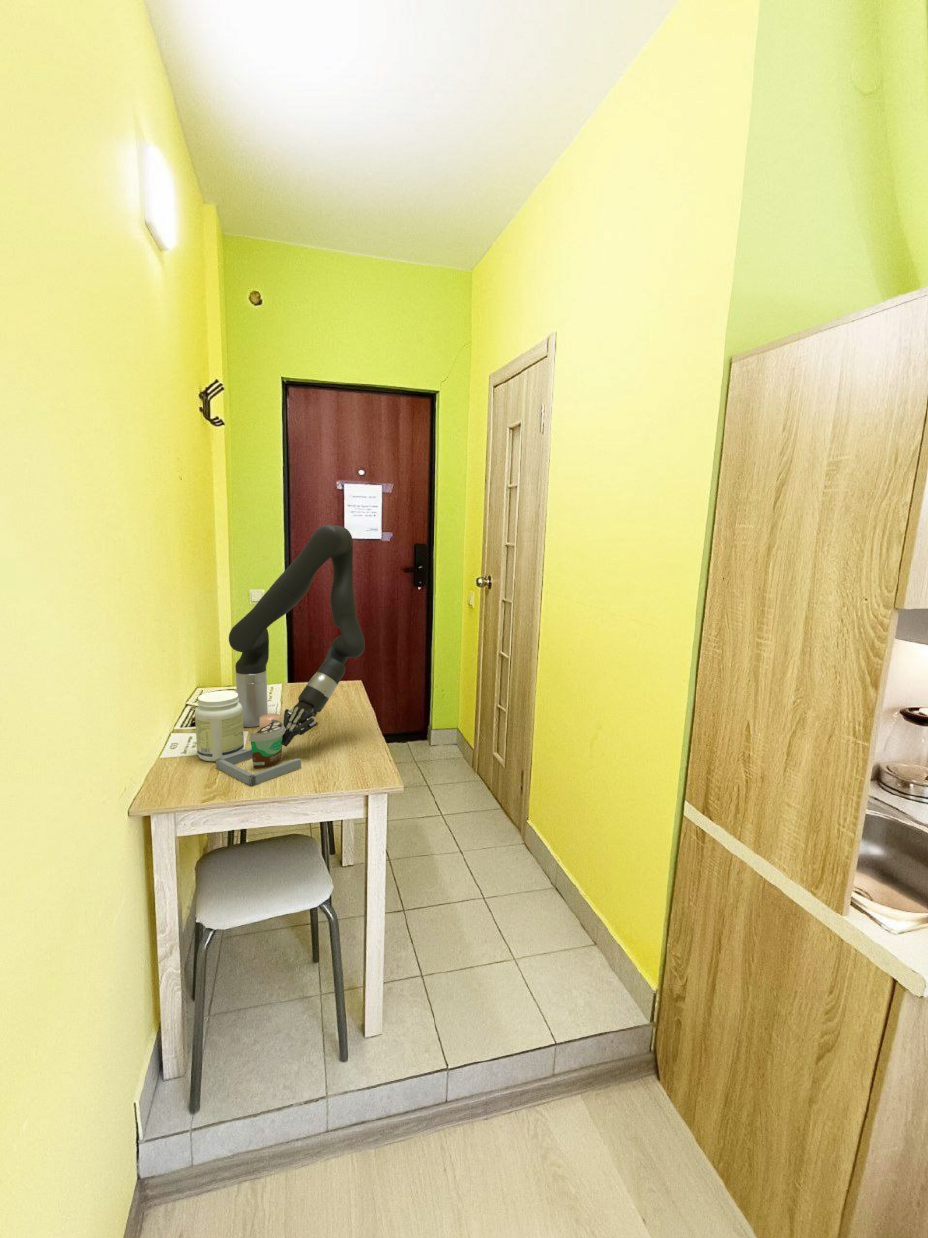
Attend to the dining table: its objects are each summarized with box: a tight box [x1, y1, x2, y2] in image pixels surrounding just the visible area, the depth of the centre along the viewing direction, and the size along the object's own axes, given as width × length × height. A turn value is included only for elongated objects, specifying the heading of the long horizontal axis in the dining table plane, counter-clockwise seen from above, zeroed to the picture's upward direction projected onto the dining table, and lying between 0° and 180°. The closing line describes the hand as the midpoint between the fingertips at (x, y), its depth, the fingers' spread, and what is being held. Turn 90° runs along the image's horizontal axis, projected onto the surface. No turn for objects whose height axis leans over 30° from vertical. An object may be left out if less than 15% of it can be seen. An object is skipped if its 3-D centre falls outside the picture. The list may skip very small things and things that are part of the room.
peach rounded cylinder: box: [259, 713, 282, 730], centre depth 172 cm, size 6×6×8 cm
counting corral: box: [215, 748, 302, 787], centre depth 155 cm, size 16×15×2 cm
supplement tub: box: [194, 690, 245, 762], centre depth 162 cm, size 12×12×17 cm
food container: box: [248, 719, 286, 769], centre depth 158 cm, size 12×6×10 cm, turn 169°
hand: (282, 744), depth 160 cm, fingers closed
